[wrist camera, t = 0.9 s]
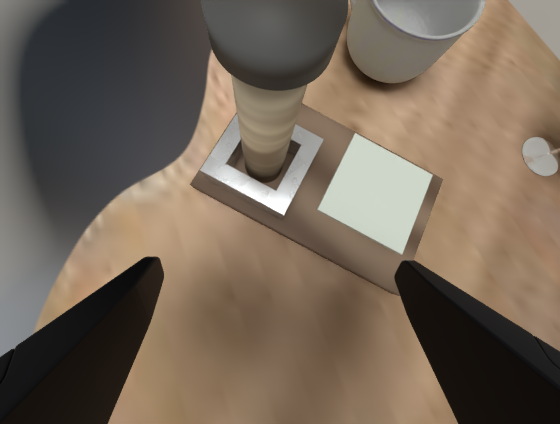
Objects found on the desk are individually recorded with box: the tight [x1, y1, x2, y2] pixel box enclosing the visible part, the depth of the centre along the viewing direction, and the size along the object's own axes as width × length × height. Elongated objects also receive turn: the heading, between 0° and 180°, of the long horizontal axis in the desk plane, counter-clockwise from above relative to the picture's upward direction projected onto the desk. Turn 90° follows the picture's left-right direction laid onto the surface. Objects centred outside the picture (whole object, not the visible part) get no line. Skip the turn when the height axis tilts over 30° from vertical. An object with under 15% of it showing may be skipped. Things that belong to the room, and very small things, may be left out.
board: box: [190, 103, 443, 296], centre depth 22 cm, size 13×22×1 cm, turn 62°
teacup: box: [347, 0, 485, 83], centre depth 22 cm, size 14×11×8 cm
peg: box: [201, 0, 348, 183], centre depth 14 cm, size 5×5×14 cm
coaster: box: [317, 133, 433, 254], centre depth 22 cm, size 9×9×1 cm
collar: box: [200, 114, 324, 219], centre depth 20 cm, size 8×8×2 cm
